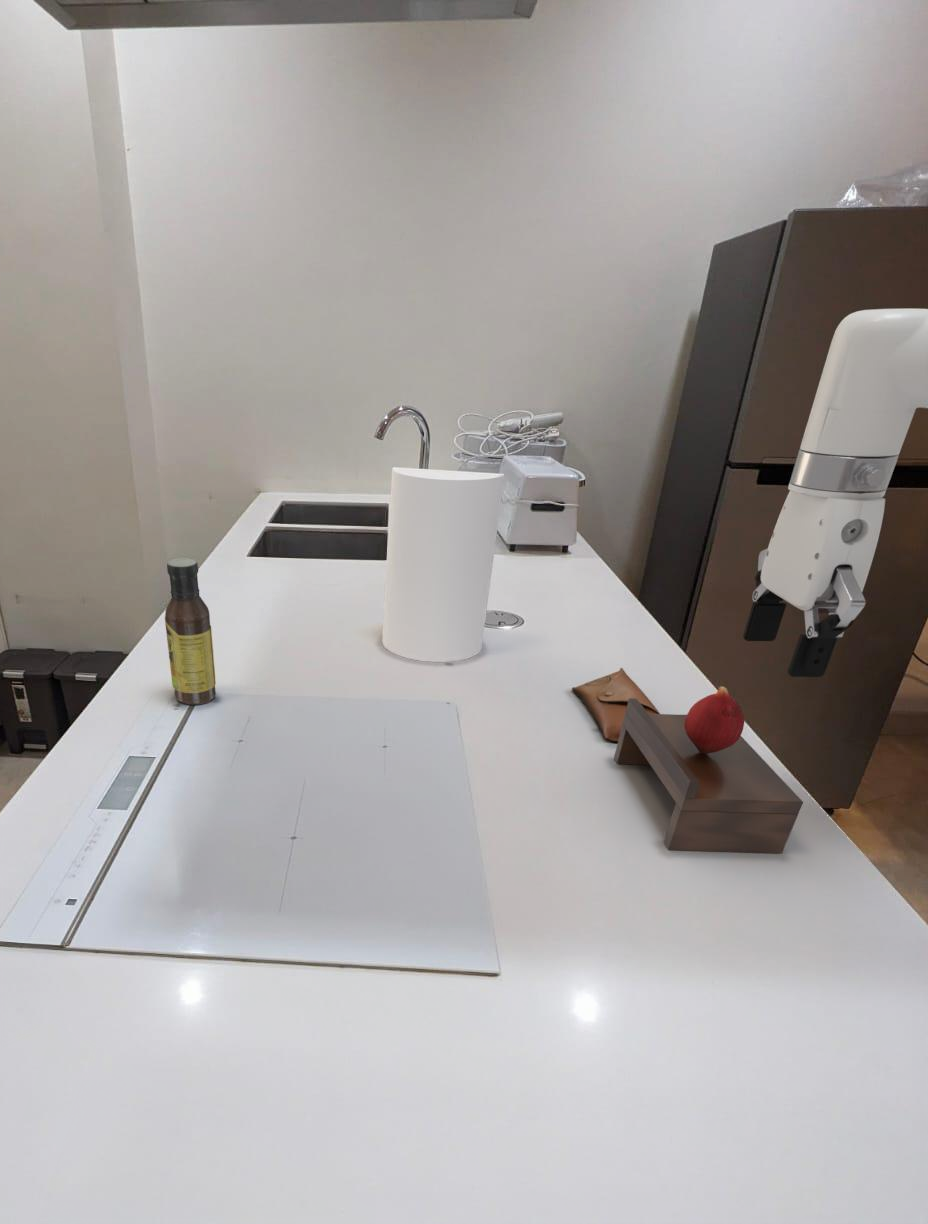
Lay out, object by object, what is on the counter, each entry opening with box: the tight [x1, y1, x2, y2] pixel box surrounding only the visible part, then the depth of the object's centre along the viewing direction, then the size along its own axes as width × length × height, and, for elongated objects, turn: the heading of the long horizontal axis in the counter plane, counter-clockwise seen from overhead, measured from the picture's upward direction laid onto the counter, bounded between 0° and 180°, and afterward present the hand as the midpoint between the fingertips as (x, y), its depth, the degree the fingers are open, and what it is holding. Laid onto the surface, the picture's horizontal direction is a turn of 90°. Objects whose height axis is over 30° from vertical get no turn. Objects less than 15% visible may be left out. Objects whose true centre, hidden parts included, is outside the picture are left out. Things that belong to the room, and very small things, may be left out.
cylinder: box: [381, 466, 506, 663], centre depth 123 cm, size 17×17×28 cm
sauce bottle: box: [164, 557, 217, 706], centre depth 105 cm, size 6×6×20 cm
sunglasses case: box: [571, 667, 661, 743], centre depth 107 cm, size 18×7×7 cm
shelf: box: [613, 698, 804, 854], centre depth 86 cm, size 12×20×8 cm, turn 178°
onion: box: [684, 686, 745, 754], centre depth 82 cm, size 6×6×8 cm
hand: (780, 657), depth 76 cm, fingers open, 9 cm apart
